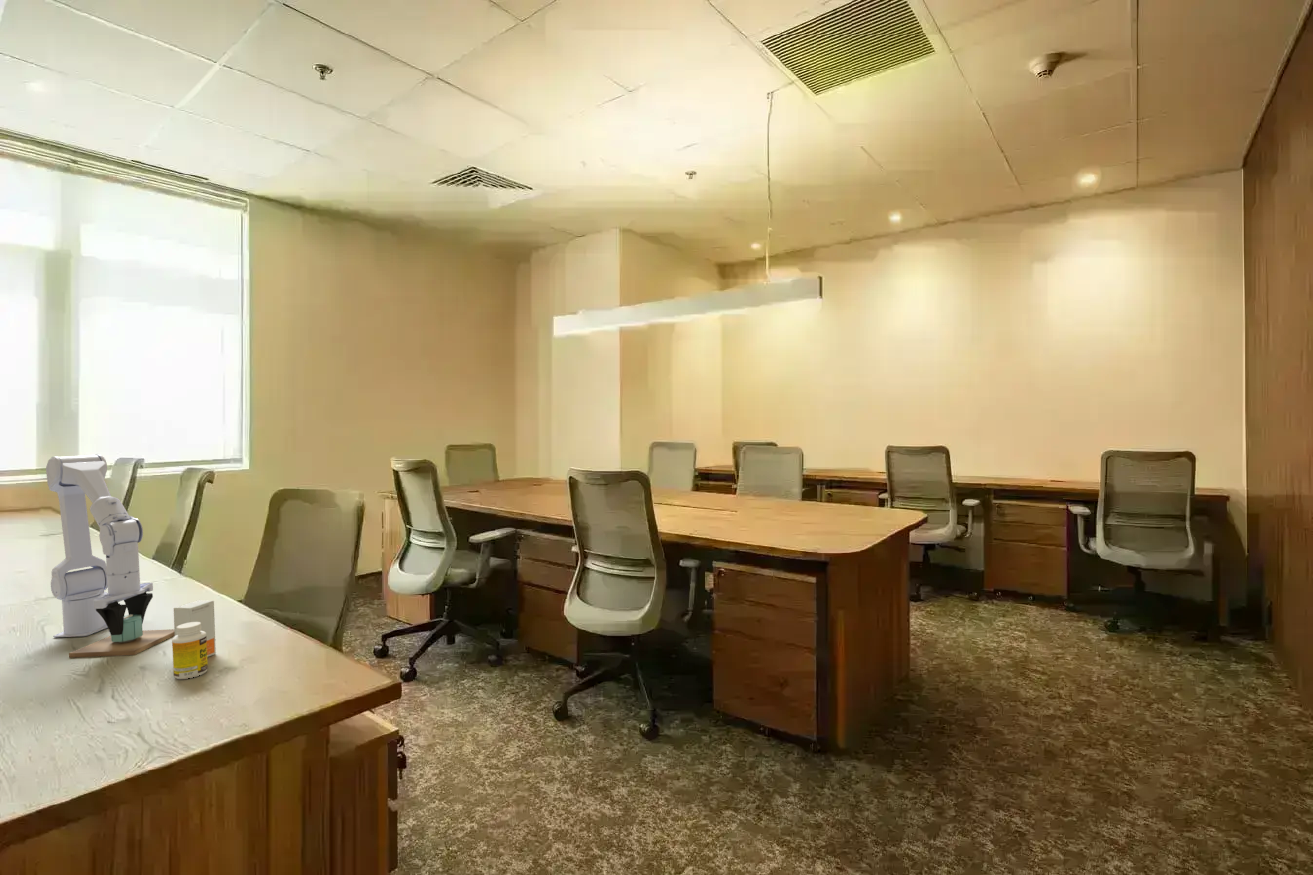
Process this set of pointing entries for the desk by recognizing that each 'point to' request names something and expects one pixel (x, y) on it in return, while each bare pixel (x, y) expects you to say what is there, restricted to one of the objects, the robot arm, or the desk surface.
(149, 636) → the post fixture
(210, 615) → the skincare box
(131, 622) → the cap
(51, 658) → the desk surface
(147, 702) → the desk surface
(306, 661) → the desk surface
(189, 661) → the supplement bottle
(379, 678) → the desk surface
